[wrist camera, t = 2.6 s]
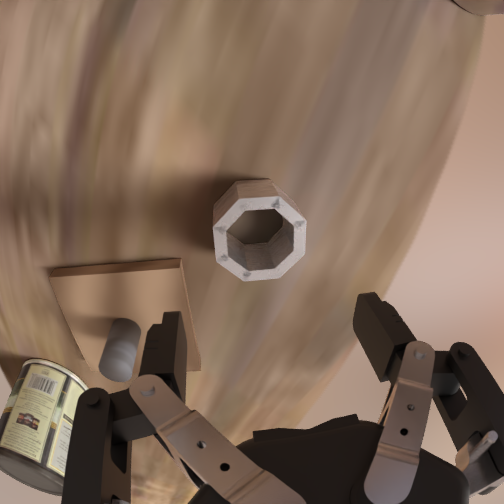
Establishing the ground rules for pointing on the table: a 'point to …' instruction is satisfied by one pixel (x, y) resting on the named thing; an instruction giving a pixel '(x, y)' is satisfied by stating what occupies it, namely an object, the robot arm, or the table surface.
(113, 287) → the post block
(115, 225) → the table surface
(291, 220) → the ring
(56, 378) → the coffee can
